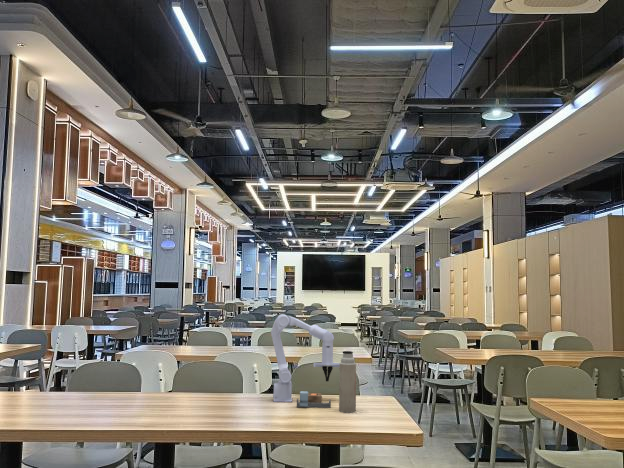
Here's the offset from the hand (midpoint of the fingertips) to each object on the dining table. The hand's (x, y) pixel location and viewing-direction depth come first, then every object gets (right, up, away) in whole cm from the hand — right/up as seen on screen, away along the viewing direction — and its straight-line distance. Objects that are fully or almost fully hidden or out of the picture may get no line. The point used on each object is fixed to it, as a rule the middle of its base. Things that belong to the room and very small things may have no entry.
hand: (327, 381), depth 293 cm
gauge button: (-7, -8, -7) cm, 13 cm away
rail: (-7, -8, -18) cm, 21 cm away
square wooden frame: (-7, -9, -7) cm, 14 cm away
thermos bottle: (+9, -8, -26) cm, 28 cm away
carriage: (-12, -8, -18) cm, 23 cm away
